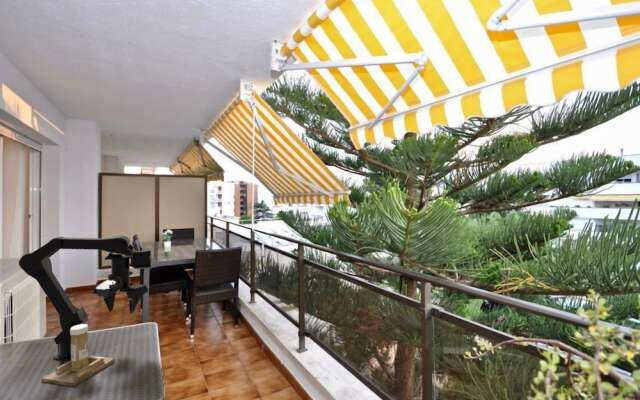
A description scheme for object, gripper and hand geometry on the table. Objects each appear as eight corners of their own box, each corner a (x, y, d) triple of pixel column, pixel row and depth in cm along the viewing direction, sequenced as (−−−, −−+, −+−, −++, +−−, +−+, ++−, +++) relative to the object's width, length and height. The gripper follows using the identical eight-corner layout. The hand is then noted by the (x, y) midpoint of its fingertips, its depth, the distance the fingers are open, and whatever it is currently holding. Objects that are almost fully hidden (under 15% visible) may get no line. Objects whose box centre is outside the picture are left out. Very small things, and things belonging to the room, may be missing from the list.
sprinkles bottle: (88, 368, 99) (87, 327, 99) (70, 373, 96) (69, 330, 96) (89, 362, 103) (88, 322, 102) (71, 366, 100) (71, 325, 100)
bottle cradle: (41, 381, 94) (41, 373, 94) (85, 357, 108) (85, 350, 108) (73, 386, 91) (73, 378, 91) (114, 361, 105) (114, 354, 105)
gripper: (79, 274, 109) (79, 318, 109) (123, 277, 105) (124, 323, 105) (107, 267, 120) (107, 307, 120) (148, 269, 116) (149, 311, 116)
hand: (121, 312), depth 115 cm, fingers open, 9 cm apart
